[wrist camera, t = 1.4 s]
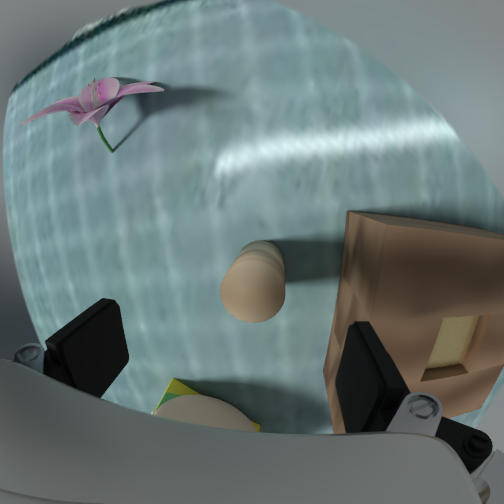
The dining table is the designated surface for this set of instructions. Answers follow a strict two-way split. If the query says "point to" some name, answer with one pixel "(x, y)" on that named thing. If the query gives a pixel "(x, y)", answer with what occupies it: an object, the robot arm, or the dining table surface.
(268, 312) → the maple peg
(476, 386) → the socket block
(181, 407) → the hamburger
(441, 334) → the tan square tile
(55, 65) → the dining table surface
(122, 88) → the lily
